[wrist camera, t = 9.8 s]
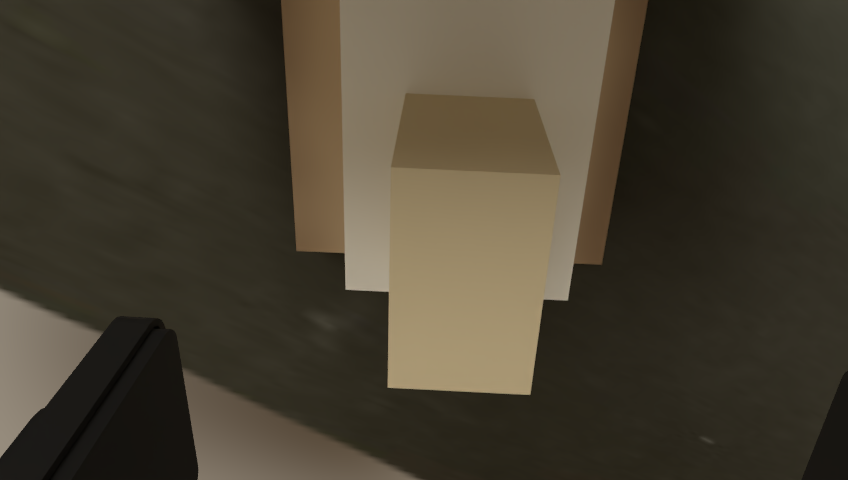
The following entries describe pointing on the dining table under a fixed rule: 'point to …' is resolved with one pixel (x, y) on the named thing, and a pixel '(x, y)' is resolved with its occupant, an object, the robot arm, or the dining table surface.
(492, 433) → the dining table surface
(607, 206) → the wooden l-shaped stand
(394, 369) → the beige and white blocks
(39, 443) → the robot arm
